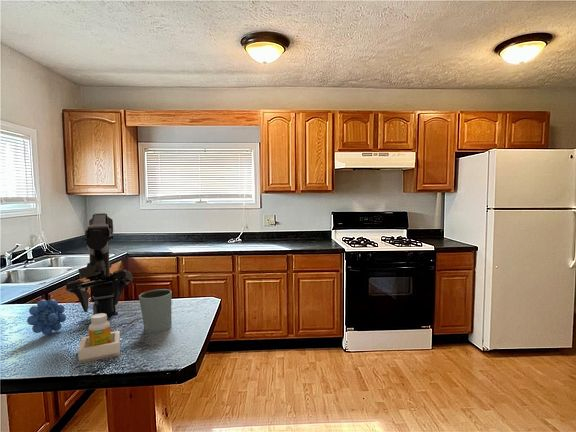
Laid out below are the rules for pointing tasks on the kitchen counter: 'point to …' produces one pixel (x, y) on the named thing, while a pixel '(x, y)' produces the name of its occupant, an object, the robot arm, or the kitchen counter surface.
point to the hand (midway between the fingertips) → (100, 308)
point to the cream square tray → (99, 349)
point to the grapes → (46, 316)
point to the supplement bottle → (99, 330)
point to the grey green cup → (156, 310)
